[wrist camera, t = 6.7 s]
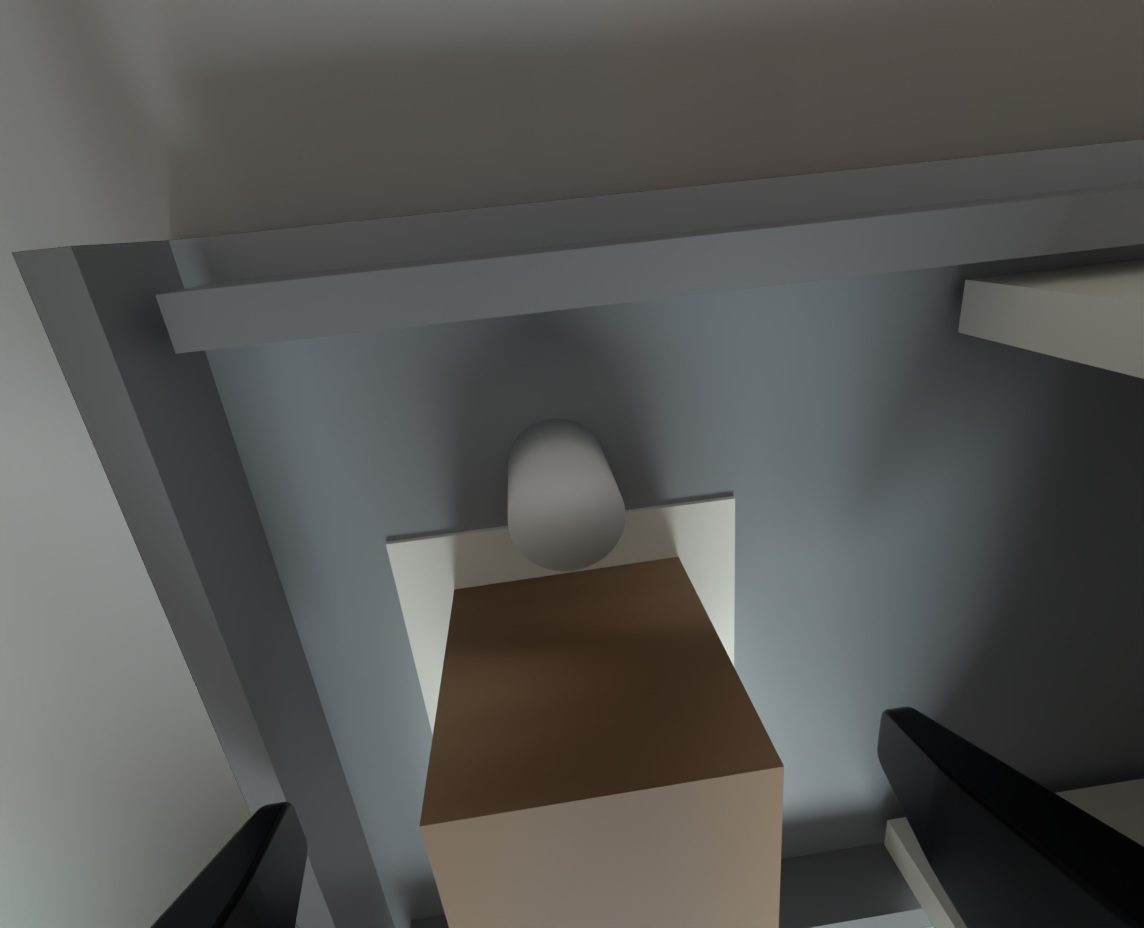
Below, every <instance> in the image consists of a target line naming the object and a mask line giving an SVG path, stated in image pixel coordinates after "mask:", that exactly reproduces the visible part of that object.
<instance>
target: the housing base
mask: <svg viewBox="0 0 1144 928" xmlns="http://www.w3.org/2000/svg"><path fill="white" fill-rule="evenodd" d="M12 254H13V256H14V259H15V261H16V264H17V266H18V268H19V271H20V273H21V275H22V278H23V280H24V282H25V285H26V287H27V289H28V292H29V294H30V296H31V299H32V301H33V303H34V306H35V308H36V311H37V313H38V315H39V318H40V320H41V322H42V325H43V327H44V329H45V332H46V334H47V336H48V339H49V341H50V343H51V346H52V348H53V351H54V353H55V355H56V358H57V360H58V362H59V365H60V367H61V369H62V372H63V374H64V376H65V379H66V381H67V383H68V386H69V388H70V391H71V393H72V395H73V398H74V400H75V402H76V405H77V407H78V409H79V412H80V414H81V416H82V419H83V421H84V423H85V426H86V428H87V431H88V433H89V435H90V438H91V440H92V442H93V445H94V447H95V449H96V452H97V454H98V456H99V459H100V461H101V463H102V466H103V468H104V471H105V473H106V475H107V478H108V480H109V482H110V485H111V487H112V489H113V492H114V494H115V496H116V499H117V501H118V503H119V506H120V508H121V511H122V513H123V515H124V518H125V520H126V522H127V525H128V527H129V529H130V532H131V534H132V536H133V539H134V541H135V543H136V546H137V548H138V551H139V553H140V555H141V558H142V560H143V562H144V565H145V567H146V569H147V572H148V574H149V576H150V579H151V581H152V583H153V586H154V588H155V591H156V593H157V595H158V598H159V600H160V602H161V605H162V607H163V609H164V612H165V614H166V616H167V619H168V621H169V623H170V626H171V628H172V631H173V633H174V635H175V638H176V640H177V642H178V645H179V647H180V649H181V652H182V654H183V656H184V659H185V661H186V663H187V666H188V668H189V671H190V673H191V675H192V678H193V680H194V682H195V685H196V687H197V689H198V692H199V694H200V696H201V699H202V701H203V703H204V706H205V708H206V711H207V713H208V715H209V718H210V720H211V722H212V725H213V727H214V729H215V732H216V734H217V736H218V739H219V741H220V743H221V746H222V748H223V751H224V753H225V755H226V758H227V760H228V762H229V765H230V767H231V769H232V772H233V774H234V776H235V779H236V781H237V783H238V786H239V788H240V791H241V793H242V795H243V798H244V800H245V802H246V805H247V807H248V809H249V812H250V814H251V816H252V815H253V814H254V813H255V812H256V811H257V810H258V809H259V808H261V807H262V806H264V805H268V804H274V803H280V802H291V803H292V804H293V805H294V807H295V809H296V811H297V814H298V817H299V819H300V822H301V824H302V827H303V830H304V832H305V835H306V838H307V843H308V854H307V861H306V867H305V872H304V878H303V884H302V889H301V895H300V901H299V907H298V912H297V918H296V922H297V925H298V927H299V928H449V926H448V922H447V919H446V916H445V912H444V909H443V905H442V902H441V899H440V895H439V892H438V888H437V885H436V882H435V878H434V875H433V871H432V868H431V865H430V861H429V858H428V854H427V851H426V848H425V844H424V841H423V837H422V834H421V831H420V827H419V826H420V819H421V812H422V805H423V798H424V792H425V785H426V778H427V771H428V765H429V758H430V751H431V744H432V737H433V731H434V724H435V717H436V710H437V704H438V697H439V690H440V683H441V676H442V670H443V663H444V656H445V649H446V643H447V636H448V629H449V622H450V615H451V609H452V602H453V595H454V589H461V588H468V587H475V586H481V585H488V584H495V583H502V582H509V581H516V580H522V579H529V578H536V577H543V576H550V575H557V574H563V573H570V572H577V571H584V570H591V569H598V568H604V567H611V566H618V565H625V564H632V563H639V562H645V561H652V560H659V559H666V558H673V557H679V559H680V561H681V563H682V565H683V567H684V569H685V571H686V573H687V575H688V577H689V579H690V581H691V583H692V585H693V587H694V589H695V591H696V592H697V594H698V596H699V598H700V600H701V602H702V604H703V606H704V608H705V610H706V612H707V614H708V616H709V618H710V620H711V622H712V624H713V626H714V628H715V630H716V632H717V634H718V636H719V638H720V640H721V642H722V644H723V646H724V648H725V650H726V652H727V654H728V656H729V658H730V660H731V662H732V664H733V666H734V668H735V670H736V672H737V674H738V676H739V678H740V680H741V682H742V684H743V686H744V688H745V690H746V692H747V694H748V696H749V698H750V700H751V702H752V704H753V706H754V708H755V710H756V712H757V714H758V715H759V717H760V719H761V721H762V723H763V725H764V727H765V729H766V731H767V733H768V735H769V737H770V739H771V741H772V743H773V745H774V747H775V749H776V751H777V753H778V755H779V757H780V759H781V761H782V763H783V765H784V787H783V816H782V845H781V874H780V903H779V928H926V927H932V926H933V925H932V923H931V922H930V920H929V918H928V917H927V915H926V913H925V912H924V910H923V908H922V907H921V905H920V903H919V902H918V900H917V898H916V897H915V895H914V893H913V892H912V890H911V888H910V887H909V885H908V883H907V882H906V880H905V878H904V877H903V875H902V873H901V872H900V870H899V868H898V867H897V865H896V863H895V862H894V860H893V858H892V857H891V855H890V853H889V852H888V850H887V848H886V847H885V845H884V841H885V834H886V827H887V820H891V819H897V818H903V817H906V816H905V814H904V812H903V810H902V808H901V806H900V804H899V802H898V800H897V798H896V796H895V794H894V791H893V789H892V787H891V785H890V783H889V781H888V779H887V777H886V775H885V773H884V771H883V769H882V767H881V764H880V762H879V759H878V755H877V743H878V735H879V727H880V718H881V714H882V713H883V711H884V710H886V709H892V708H898V707H911V708H914V709H916V710H918V711H919V712H921V713H923V714H924V715H926V716H928V717H929V718H931V719H933V720H934V721H936V722H938V723H939V724H941V725H943V726H944V727H946V728H948V729H949V730H951V731H953V732H954V733H956V734H958V735H959V736H961V737H962V738H964V739H966V740H967V741H969V742H971V743H972V744H974V745H976V746H977V747H979V748H981V749H982V750H984V751H986V752H987V753H989V754H991V755H992V756H994V757H996V758H997V759H999V760H1001V761H1002V762H1004V763H1006V764H1007V765H1009V766H1011V767H1012V768H1014V769H1016V770H1017V771H1019V772H1021V773H1022V774H1024V775H1026V776H1027V777H1029V778H1031V779H1032V780H1034V781H1036V782H1037V783H1039V784H1041V785H1042V786H1044V787H1046V788H1047V789H1049V790H1051V791H1052V792H1054V793H1057V792H1063V791H1069V790H1075V789H1082V788H1088V787H1094V786H1100V785H1106V784H1112V783H1118V782H1125V781H1131V780H1137V779H1143V778H1144V379H1143V378H1139V377H1135V376H1131V375H1127V374H1123V373H1119V372H1115V371H1111V370H1107V369H1103V368H1099V367H1095V366H1091V365H1087V364H1083V363H1079V362H1075V361H1071V360H1067V359H1063V358H1059V357H1055V356H1051V355H1047V354H1043V353H1039V352H1035V351H1031V350H1027V349H1023V348H1019V347H1015V346H1011V345H1007V344H1003V343H999V342H995V341H991V340H987V339H983V338H979V337H975V336H971V335H967V334H963V333H959V332H958V328H959V321H960V314H961V307H962V300H963V293H964V286H965V280H966V279H975V278H984V277H992V276H1001V275H1010V274H1018V273H1027V272H1036V271H1045V270H1053V269H1062V268H1071V267H1079V266H1088V265H1097V264H1105V263H1114V262H1123V261H1132V260H1140V259H1144V139H1140V140H1130V141H1121V142H1111V143H1101V144H1092V145H1082V146H1072V147H1063V148H1053V149H1044V150H1034V151H1024V152H1015V153H1005V154H995V155H986V156H976V157H967V158H957V159H947V160H938V161H928V162H918V163H909V164H899V165H890V166H880V167H870V168H861V169H851V170H841V171H832V172H822V173H813V174H803V175H793V176H784V177H774V178H764V179H755V180H745V181H736V182H726V183H716V184H707V185H697V186H687V187H678V188H668V189H659V190H649V191H639V192H630V193H620V194H610V195H601V196H591V197H582V198H572V199H562V200H553V201H543V202H533V203H524V204H514V205H505V206H495V207H485V208H476V209H466V210H456V211H447V212H437V213H428V214H418V215H408V216H399V217H389V218H379V219H370V220H360V221H351V222H341V223H331V224H322V225H312V226H302V227H293V228H283V229H274V230H264V231H254V232H245V233H235V234H225V235H216V236H206V237H197V238H187V239H177V240H167V241H150V242H133V243H117V244H100V245H83V246H68V247H58V248H49V249H39V250H29V251H20V252H12Z"/></svg>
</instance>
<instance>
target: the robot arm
mask: <svg viewBox="0 0 1144 928" xmlns="http://www.w3.org/2000/svg"><path fill="white" fill-rule="evenodd" d="M877 755H878V759H879V762H880V764H881V767H882V769H883V771H884V773H885V775H886V777H887V779H888V781H889V783H890V785H891V787H892V789H893V791H894V794H895V796H896V798H897V800H898V802H899V804H900V806H901V808H902V810H903V812H904V814H905V816H906V818H907V820H908V822H909V824H910V826H911V828H912V831H913V833H914V835H915V837H916V839H917V841H918V843H919V845H920V847H921V849H922V851H923V853H924V855H925V857H926V859H927V861H928V863H929V865H930V867H931V868H932V870H933V872H934V874H935V875H936V877H937V879H938V881H939V882H940V884H941V886H942V887H943V889H944V891H945V892H946V894H947V896H948V897H949V899H950V901H951V902H952V904H953V906H954V907H955V909H956V911H957V912H958V914H959V916H960V917H961V919H962V920H963V922H964V924H965V925H966V927H967V928H1144V846H1142V845H1140V844H1139V843H1137V842H1135V841H1134V840H1132V839H1130V838H1129V837H1127V836H1125V835H1124V834H1122V833H1120V832H1119V831H1117V830H1115V829H1114V828H1112V827H1110V826H1109V825H1107V824H1105V823H1104V822H1102V821H1100V820H1099V819H1097V818H1095V817H1094V816H1092V815H1090V814H1089V813H1087V812H1085V811H1084V810H1082V809H1080V808H1079V807H1077V806H1076V805H1074V804H1072V803H1071V802H1069V801H1067V800H1066V799H1064V798H1062V797H1061V796H1059V795H1057V794H1056V793H1054V792H1052V791H1051V790H1049V789H1047V788H1046V787H1044V786H1042V785H1041V784H1039V783H1037V782H1036V781H1034V780H1032V779H1031V778H1029V777H1027V776H1026V775H1024V774H1022V773H1021V772H1019V771H1017V770H1016V769H1014V768H1012V767H1011V766H1009V765H1007V764H1006V763H1004V762H1002V761H1001V760H999V759H997V758H996V757H994V756H992V755H991V754H989V753H987V752H986V751H984V750H982V749H981V748H979V747H977V746H976V745H974V744H972V743H971V742H969V741H967V740H966V739H964V738H962V737H961V736H959V735H958V734H956V733H954V732H953V731H951V730H949V729H948V728H946V727H944V726H943V725H941V724H939V723H938V722H936V721H934V720H933V719H931V718H929V717H928V716H926V715H924V714H923V713H921V712H919V711H918V710H916V709H914V708H911V707H898V708H892V709H886V710H884V711H883V713H882V714H881V718H880V727H879V735H878V743H877ZM307 854H308V843H307V838H306V835H305V832H304V830H303V827H302V824H301V822H300V819H299V817H298V814H297V811H296V809H295V807H294V805H293V804H292V803H291V802H280V803H274V804H268V805H264V806H262V807H261V808H259V809H258V810H257V811H256V812H255V813H254V814H253V815H252V816H251V817H250V819H249V820H248V821H247V822H246V823H245V824H244V825H243V826H242V827H241V828H240V830H239V831H238V832H237V833H236V834H235V835H234V836H233V837H232V838H231V839H230V841H229V842H228V843H227V844H226V845H225V846H224V847H223V848H222V849H221V850H220V852H219V853H218V854H217V855H216V856H215V857H214V858H213V859H212V860H211V861H210V863H209V864H208V865H207V866H206V867H205V868H204V869H203V870H202V871H201V872H200V874H199V875H198V876H197V877H196V878H195V879H194V880H193V881H192V882H191V883H190V885H189V886H188V887H187V888H186V889H185V890H184V891H183V892H182V893H181V894H180V896H179V897H178V898H177V899H176V900H175V901H174V902H173V903H172V904H171V905H170V907H169V908H168V909H167V910H166V911H165V912H164V913H163V914H162V915H161V916H160V918H159V919H158V920H157V921H156V922H155V923H154V924H153V925H152V926H151V927H150V928H295V924H296V918H297V912H298V907H299V901H300V895H301V889H302V884H303V878H304V872H305V867H306V861H307Z"/></svg>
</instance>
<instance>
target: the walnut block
mask: <svg viewBox="0 0 1144 928" xmlns="http://www.w3.org/2000/svg"><path fill="white" fill-rule="evenodd" d="M783 787H784V765H783V763H782V761H781V759H780V757H779V755H778V753H777V751H776V749H775V747H774V745H773V743H772V741H771V739H770V737H769V735H768V733H767V731H766V729H765V727H764V725H763V723H762V721H761V719H760V717H759V715H758V714H757V712H756V710H755V708H754V706H753V704H752V702H751V700H750V698H749V696H748V694H747V692H746V690H745V688H744V686H743V684H742V682H741V680H740V678H739V676H738V674H737V672H736V670H735V668H734V666H733V664H732V662H731V660H730V658H729V656H728V654H727V652H726V650H725V648H724V646H723V644H722V642H721V640H720V638H719V636H718V634H717V632H716V630H715V628H714V626H713V624H712V622H711V620H710V618H709V616H708V614H707V612H706V610H705V608H704V606H703V604H702V602H701V600H700V598H699V596H698V594H697V592H696V591H695V589H694V587H693V585H692V583H691V581H690V579H689V577H688V575H687V573H686V571H685V569H684V567H683V565H682V563H681V561H680V559H679V557H673V558H666V559H659V560H652V561H645V562H639V563H632V564H625V565H618V566H611V567H604V568H598V569H591V570H584V571H577V572H570V573H563V574H557V575H550V576H543V577H536V578H529V579H522V580H516V581H509V582H502V583H495V584H488V585H481V586H475V587H468V588H461V589H454V595H453V602H452V609H451V615H450V622H449V629H448V636H447V643H446V649H445V656H444V663H443V670H442V676H441V683H440V690H439V697H438V704H437V710H436V717H435V724H434V731H433V737H432V744H431V751H430V758H429V765H428V771H427V778H426V785H425V792H424V798H423V805H422V812H421V819H420V826H419V827H420V831H421V834H422V837H423V841H424V844H425V848H426V851H427V854H428V858H429V861H430V865H431V868H432V871H433V875H434V878H435V882H436V885H437V888H438V892H439V895H440V899H441V902H442V905H443V909H444V912H445V916H446V919H447V922H448V926H449V928H779V903H780V874H781V845H782V816H783Z"/></svg>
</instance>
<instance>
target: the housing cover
mask: <svg viewBox="0 0 1144 928" xmlns="http://www.w3.org/2000/svg"><path fill="white" fill-rule="evenodd" d="M958 332H959V333H963V334H967V335H971V336H975V337H979V338H983V339H987V340H991V341H995V342H999V343H1003V344H1007V345H1011V346H1015V347H1019V348H1023V349H1027V350H1031V351H1035V352H1039V353H1043V354H1047V355H1051V356H1055V357H1059V358H1063V359H1067V360H1071V361H1075V362H1079V363H1083V364H1087V365H1091V366H1095V367H1099V368H1103V369H1107V370H1111V371H1115V372H1119V373H1123V374H1127V375H1131V376H1135V377H1139V378H1143V379H1144V259H1140V260H1132V261H1123V262H1114V263H1105V264H1097V265H1088V266H1079V267H1071V268H1062V269H1053V270H1045V271H1036V272H1027V273H1018V274H1010V275H1001V276H992V277H984V278H975V279H966V280H965V286H964V293H963V300H962V307H961V314H960V321H959V328H958ZM1056 794H1057V795H1059V796H1061V797H1062V798H1064V799H1066V800H1067V801H1069V802H1071V803H1072V804H1074V805H1076V806H1077V807H1079V808H1080V809H1082V810H1084V811H1085V812H1087V813H1089V814H1090V815H1092V816H1094V817H1095V818H1097V819H1099V820H1100V821H1102V822H1104V823H1105V824H1107V825H1109V826H1110V827H1112V828H1114V829H1115V830H1117V831H1119V832H1120V833H1122V834H1124V835H1125V836H1127V837H1129V838H1130V839H1132V840H1134V841H1135V842H1137V843H1139V844H1140V845H1142V846H1144V778H1143V779H1137V780H1131V781H1125V782H1118V783H1112V784H1106V785H1100V786H1094V787H1088V788H1082V789H1075V790H1069V791H1063V792H1057V793H1056ZM884 845H885V847H886V848H887V850H888V852H889V853H890V855H891V857H892V858H893V860H894V862H895V863H896V865H897V867H898V868H899V870H900V872H901V873H902V875H903V877H904V878H905V880H906V882H907V883H908V885H909V887H910V888H911V890H912V892H913V893H914V895H915V897H916V898H917V900H918V902H919V903H920V905H921V907H922V908H923V910H924V912H925V913H926V915H927V917H928V918H929V920H930V922H931V923H932V925H933V927H934V928H967V927H966V925H965V924H964V922H963V920H962V919H961V917H960V916H959V914H958V912H957V911H956V909H955V907H954V906H953V904H952V902H951V901H950V899H949V897H948V896H947V894H946V892H945V891H944V889H943V887H942V886H941V884H940V882H939V881H938V879H937V877H936V875H935V874H934V872H933V870H932V868H931V867H930V865H929V863H928V861H927V859H926V857H925V855H924V853H923V851H922V849H921V847H920V845H919V843H918V841H917V839H916V837H915V835H914V833H913V831H912V828H911V826H910V824H909V822H908V820H907V818H906V817H903V818H897V819H891V820H887V827H886V834H885V841H884Z"/></svg>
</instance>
